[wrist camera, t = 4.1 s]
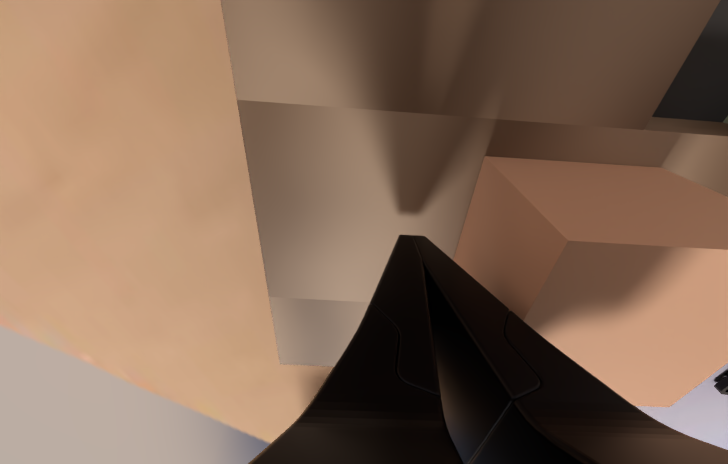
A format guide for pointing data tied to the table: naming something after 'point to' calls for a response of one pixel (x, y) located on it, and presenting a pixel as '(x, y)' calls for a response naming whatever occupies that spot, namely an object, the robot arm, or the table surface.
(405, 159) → the trap board
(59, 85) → the table surface
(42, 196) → the table surface
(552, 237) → the terracotta block
